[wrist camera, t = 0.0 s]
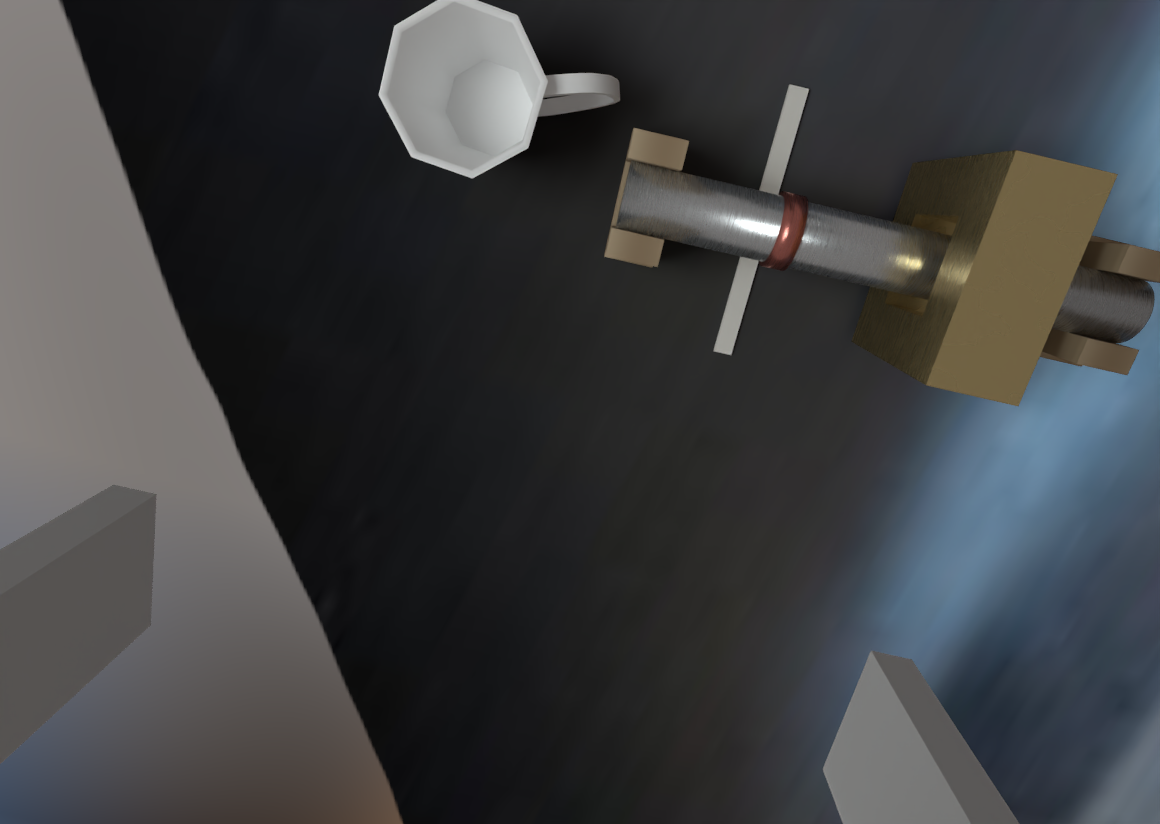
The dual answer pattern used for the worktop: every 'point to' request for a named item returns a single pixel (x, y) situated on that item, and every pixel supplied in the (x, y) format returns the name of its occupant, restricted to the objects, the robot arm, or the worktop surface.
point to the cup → (475, 86)
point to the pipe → (845, 245)
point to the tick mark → (771, 185)
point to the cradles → (1058, 343)
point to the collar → (987, 269)
